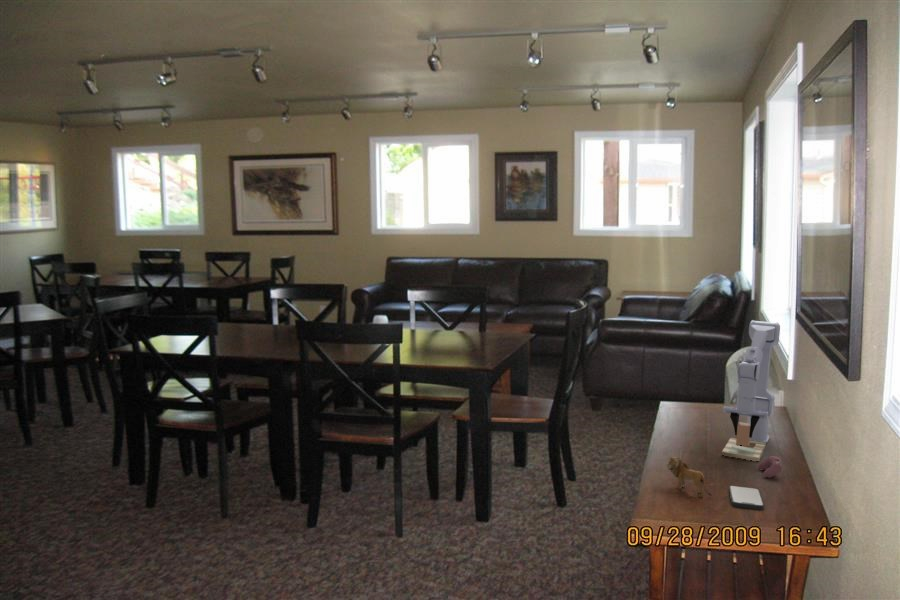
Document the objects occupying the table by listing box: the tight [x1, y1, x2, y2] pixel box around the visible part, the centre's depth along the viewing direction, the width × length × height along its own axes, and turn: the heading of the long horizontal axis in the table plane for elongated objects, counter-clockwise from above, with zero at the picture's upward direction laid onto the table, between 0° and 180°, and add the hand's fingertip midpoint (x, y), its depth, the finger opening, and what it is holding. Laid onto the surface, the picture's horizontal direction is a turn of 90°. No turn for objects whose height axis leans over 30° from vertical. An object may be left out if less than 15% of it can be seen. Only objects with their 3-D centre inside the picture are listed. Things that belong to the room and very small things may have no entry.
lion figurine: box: [666, 456, 713, 498], centre depth 244 cm, size 15×5×9 cm, turn 45°
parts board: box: [721, 437, 767, 462], centre depth 286 cm, size 20×12×2 cm, turn 153°
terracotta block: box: [736, 421, 751, 447], centre depth 281 cm, size 4×4×7 cm
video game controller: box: [757, 455, 783, 479], centre depth 262 cm, size 10×5×7 cm, turn 169°
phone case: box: [728, 485, 765, 511], centre depth 239 cm, size 9×2×16 cm
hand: (743, 435), depth 281 cm, fingers closed on terracotta block, 4 cm apart
